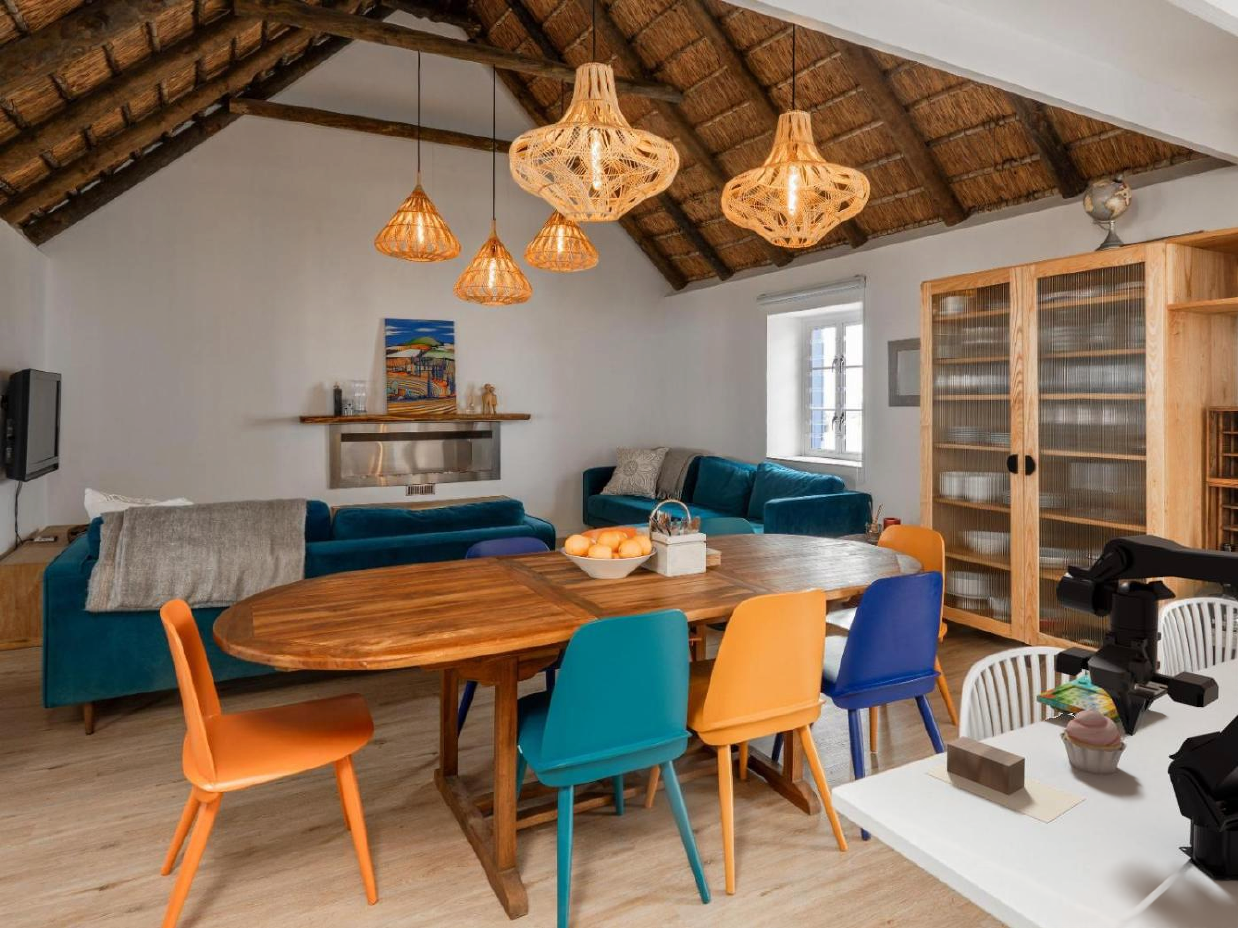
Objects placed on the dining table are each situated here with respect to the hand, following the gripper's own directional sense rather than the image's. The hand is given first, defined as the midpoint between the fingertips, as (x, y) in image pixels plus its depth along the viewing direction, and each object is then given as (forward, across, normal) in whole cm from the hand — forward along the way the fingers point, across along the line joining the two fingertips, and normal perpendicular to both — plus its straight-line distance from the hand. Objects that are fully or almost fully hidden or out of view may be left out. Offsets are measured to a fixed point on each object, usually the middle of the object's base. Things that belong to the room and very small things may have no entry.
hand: (1130, 734), depth 111 cm
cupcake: (+12, -10, +12) cm, 20 cm away
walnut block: (+9, -13, -6) cm, 17 cm away
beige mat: (+12, -15, -6) cm, 20 cm away
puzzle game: (+12, -20, +37) cm, 44 cm away
